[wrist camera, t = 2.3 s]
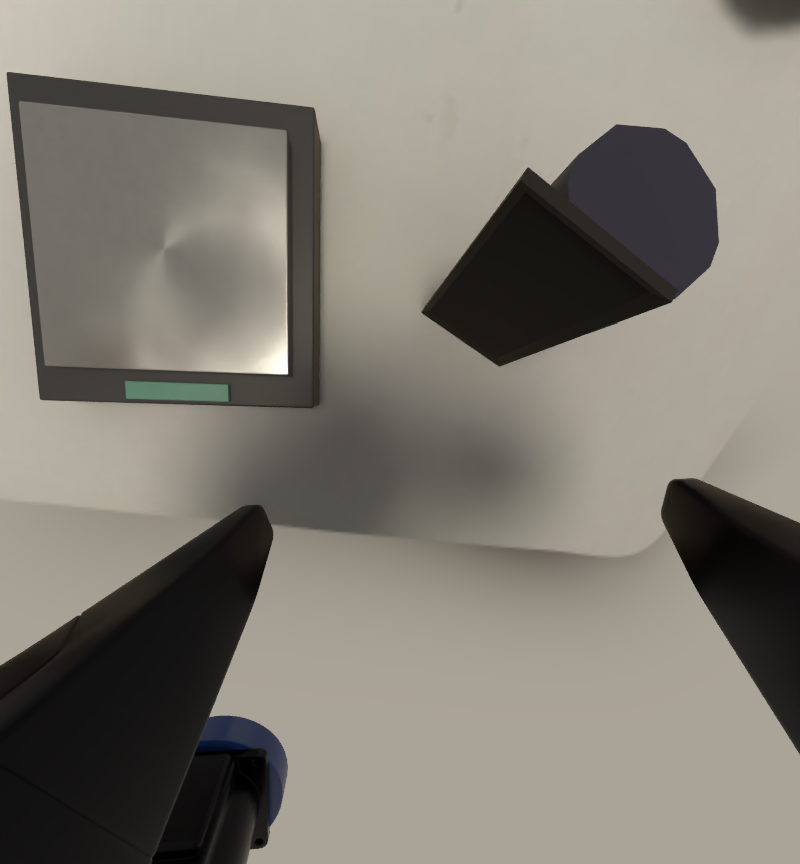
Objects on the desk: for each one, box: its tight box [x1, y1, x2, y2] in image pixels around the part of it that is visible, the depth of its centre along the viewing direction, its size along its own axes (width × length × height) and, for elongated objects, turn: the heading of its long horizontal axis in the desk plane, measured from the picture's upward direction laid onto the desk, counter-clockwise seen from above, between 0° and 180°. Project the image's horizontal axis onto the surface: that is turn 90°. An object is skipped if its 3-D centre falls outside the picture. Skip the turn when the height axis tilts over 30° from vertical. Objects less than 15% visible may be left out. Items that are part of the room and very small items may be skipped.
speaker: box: [422, 125, 719, 366], centre depth 15 cm, size 8×6×10 cm
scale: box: [7, 72, 321, 408], centre depth 16 cm, size 13×12×3 cm
